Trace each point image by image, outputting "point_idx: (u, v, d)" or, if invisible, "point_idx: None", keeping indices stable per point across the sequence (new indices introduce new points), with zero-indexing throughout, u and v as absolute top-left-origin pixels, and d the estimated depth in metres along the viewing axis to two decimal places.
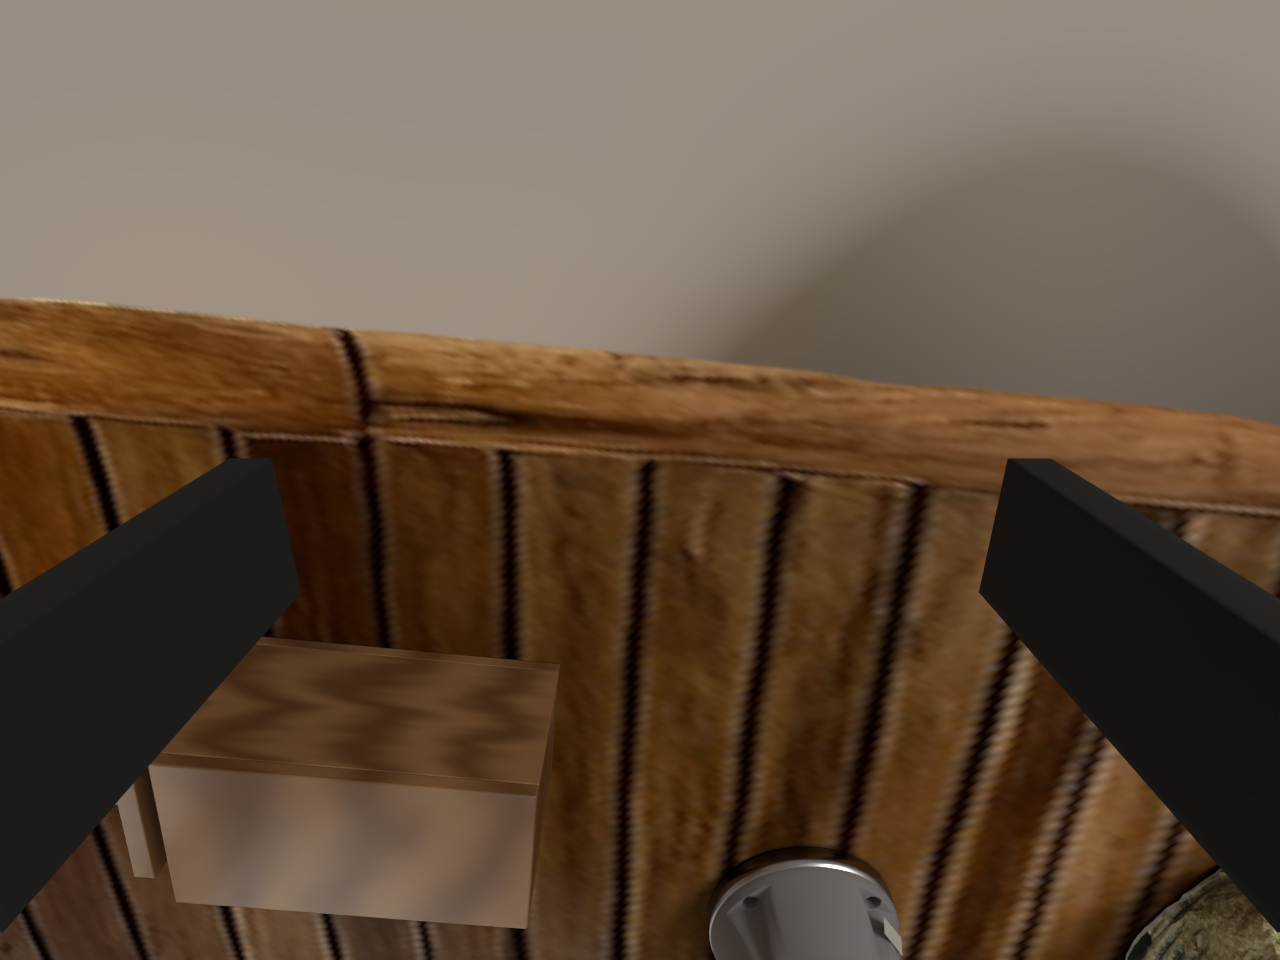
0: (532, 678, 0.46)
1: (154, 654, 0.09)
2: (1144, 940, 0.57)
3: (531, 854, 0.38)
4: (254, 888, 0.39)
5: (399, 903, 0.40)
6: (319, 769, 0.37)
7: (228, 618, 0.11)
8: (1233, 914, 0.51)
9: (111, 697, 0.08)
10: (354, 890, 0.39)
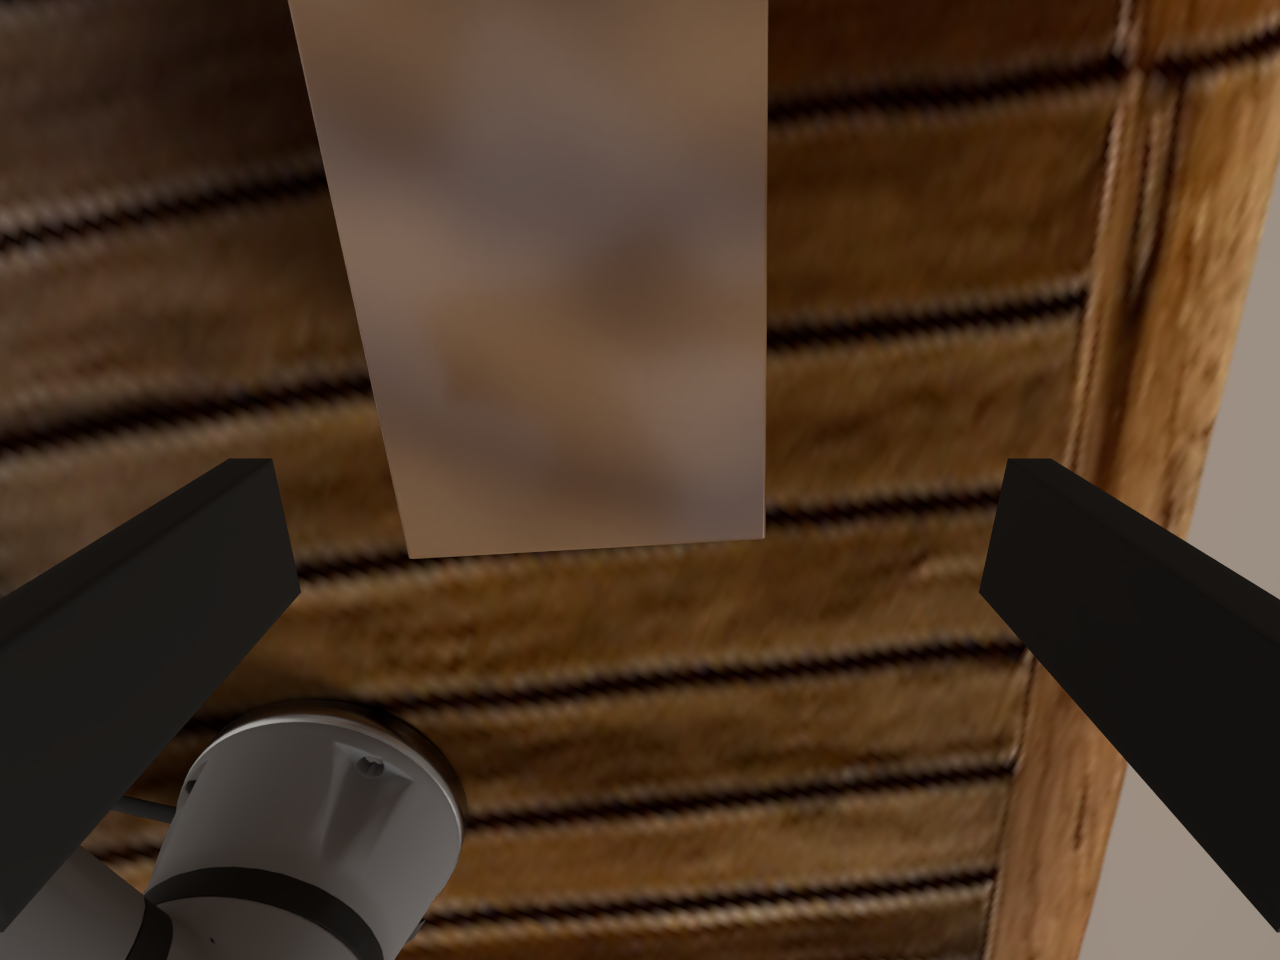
0: None
1: (154, 654, 0.09)
2: None
3: (617, 546, 0.20)
4: None
5: (407, 297, 0.17)
6: None
7: (228, 618, 0.11)
8: None
9: (111, 697, 0.08)
10: (418, 184, 0.16)
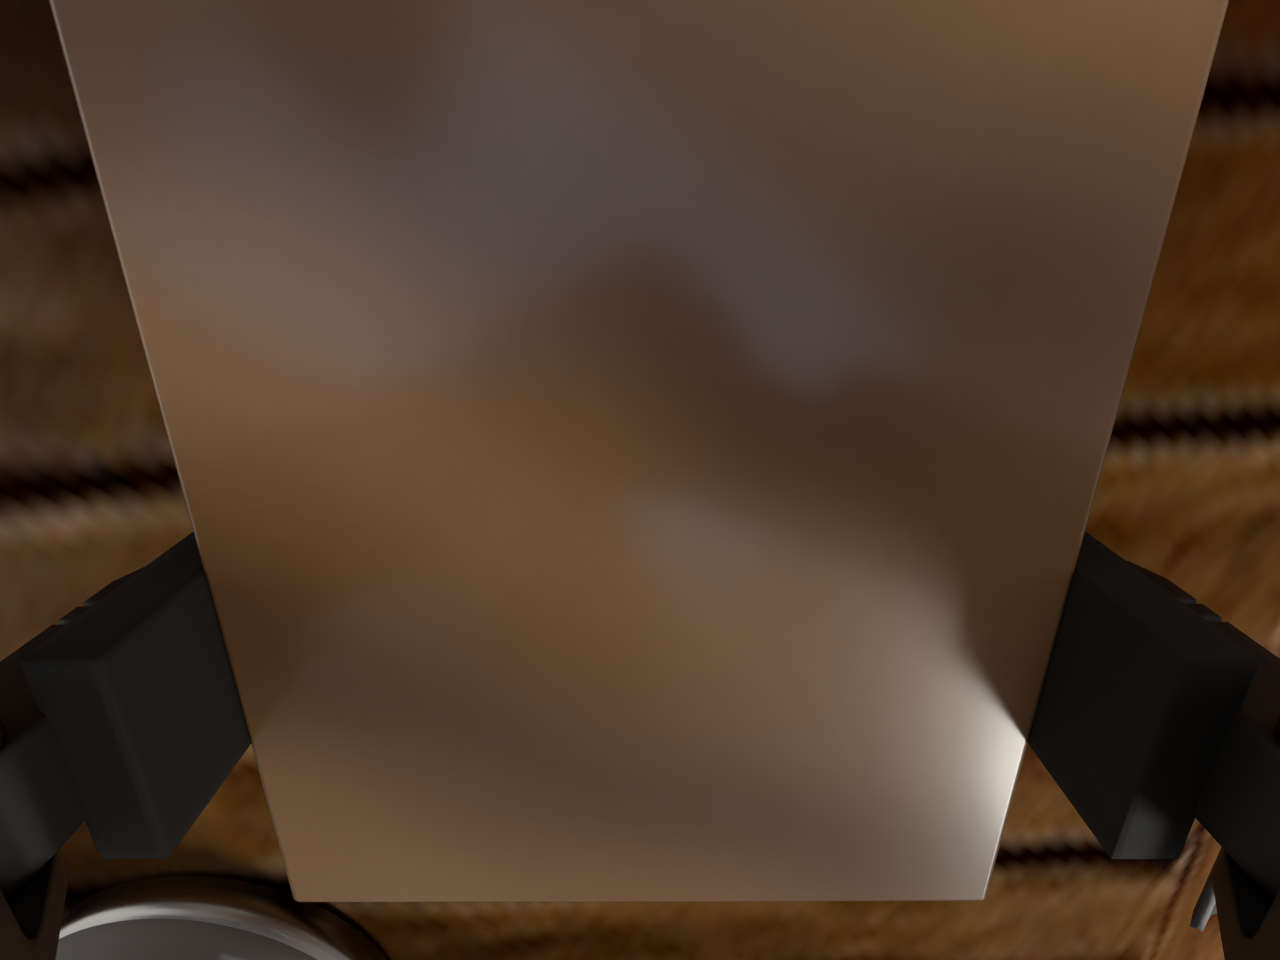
0: None
1: None
2: None
3: (701, 899, 0.10)
4: None
5: (293, 435, 0.08)
6: None
7: None
8: None
9: None
10: (321, 180, 0.07)
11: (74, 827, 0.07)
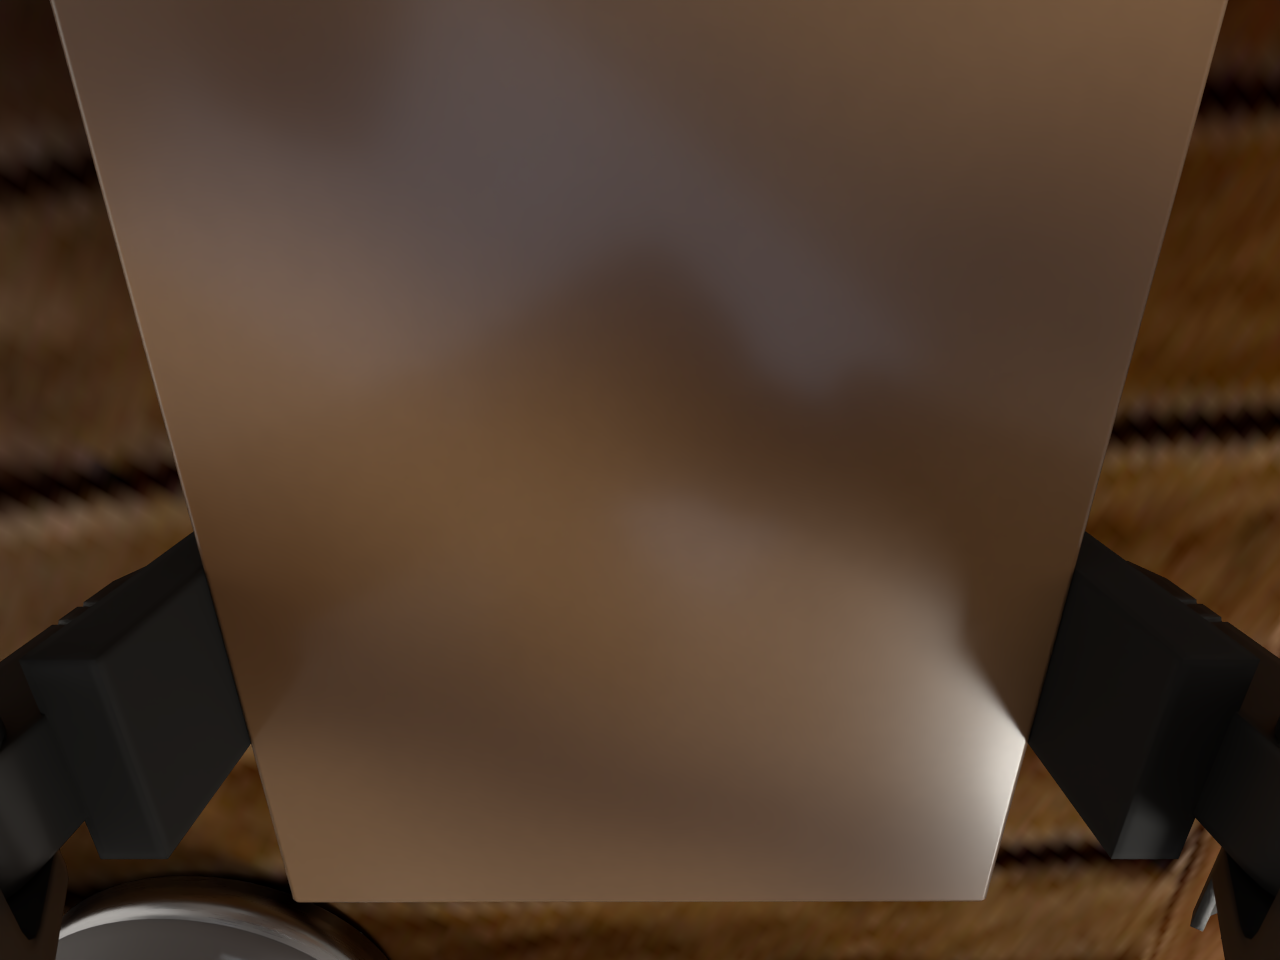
0: None
1: None
2: None
3: (701, 900, 0.10)
4: None
5: (293, 435, 0.08)
6: None
7: None
8: None
9: None
10: (322, 180, 0.07)
11: (74, 826, 0.07)
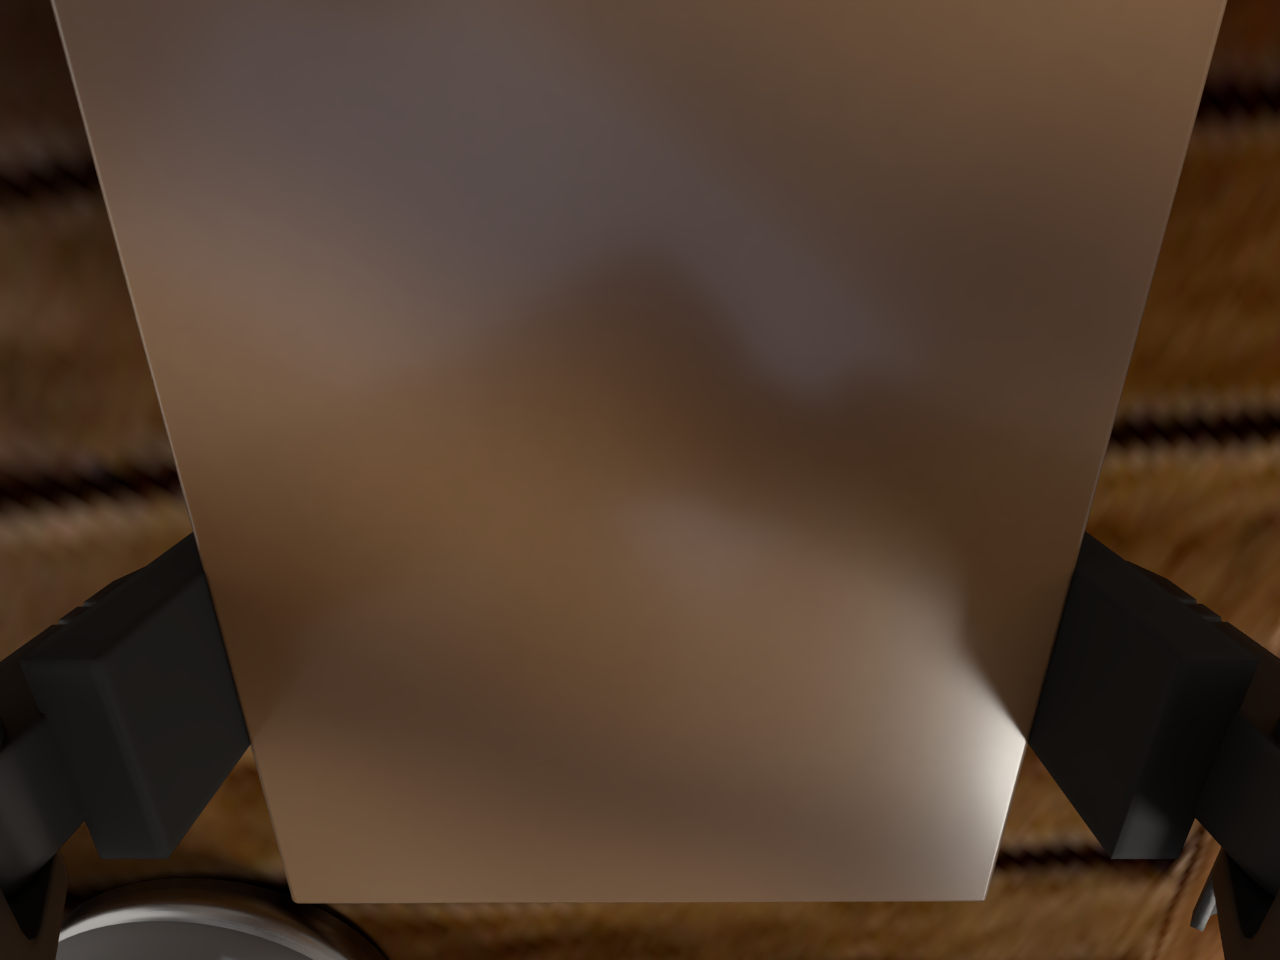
0: None
1: None
2: None
3: (701, 900, 0.10)
4: None
5: (292, 434, 0.08)
6: None
7: None
8: None
9: None
10: (322, 178, 0.07)
11: (75, 826, 0.07)
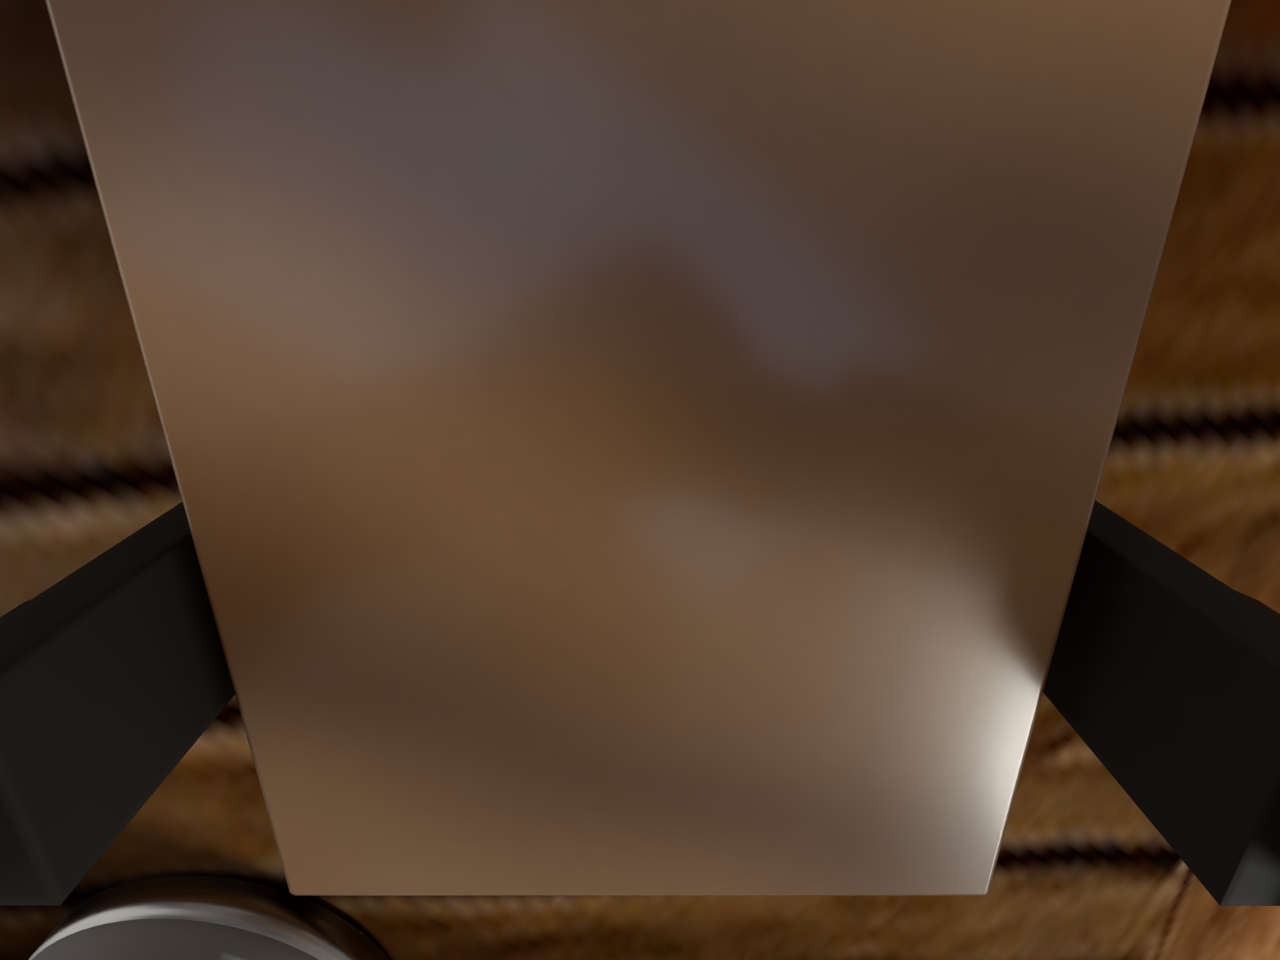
0: None
1: (192, 641, 0.09)
2: None
3: (700, 893, 0.10)
4: None
5: (287, 419, 0.07)
6: None
7: None
8: None
9: (155, 682, 0.09)
10: (315, 159, 0.07)
11: None
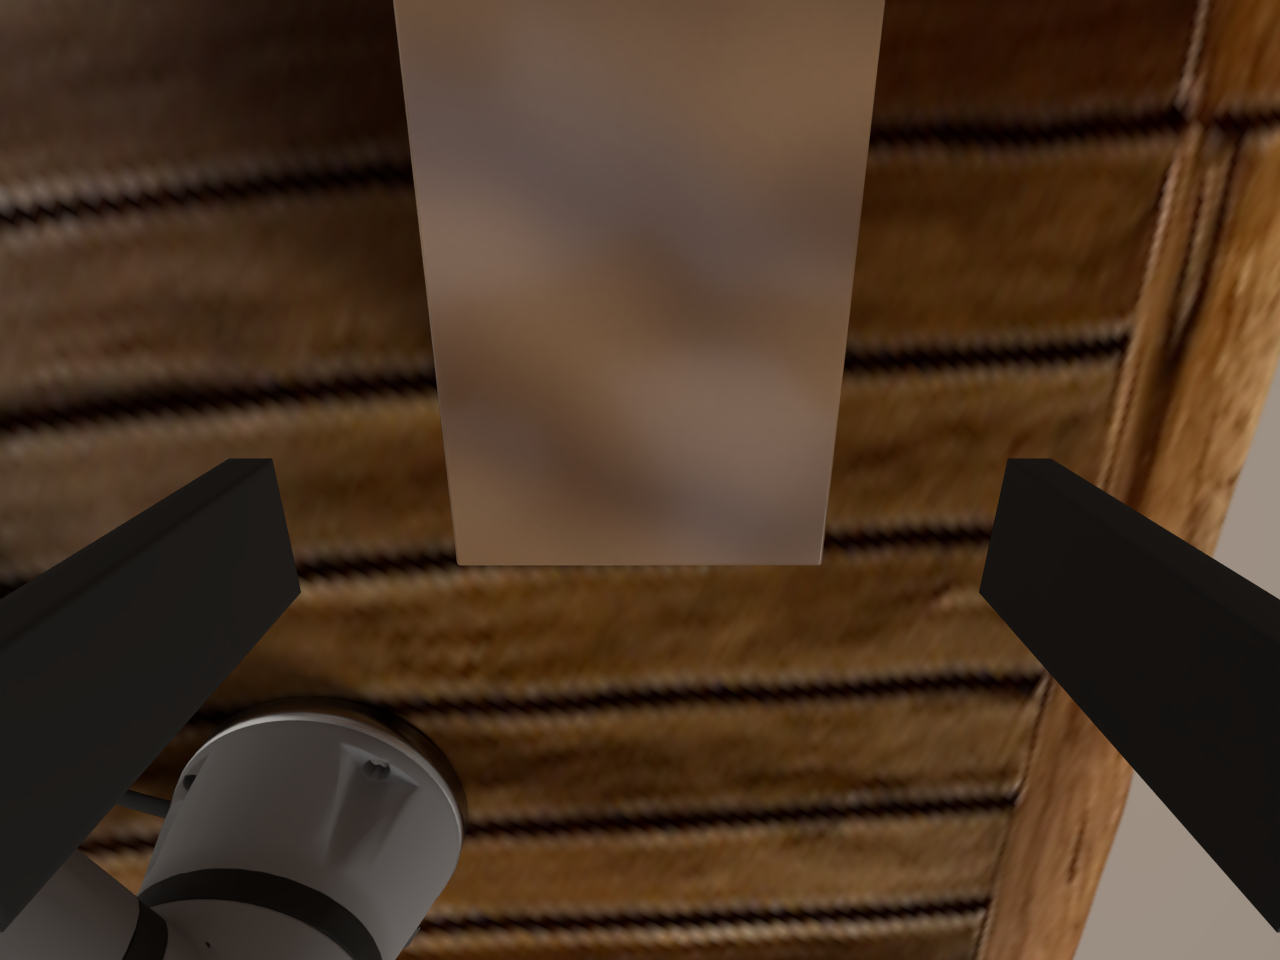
0: None
1: (153, 654, 0.09)
2: None
3: (671, 564, 0.20)
4: None
5: (484, 300, 0.17)
6: None
7: (228, 618, 0.11)
8: None
9: (111, 697, 0.08)
10: (507, 186, 0.16)
11: None
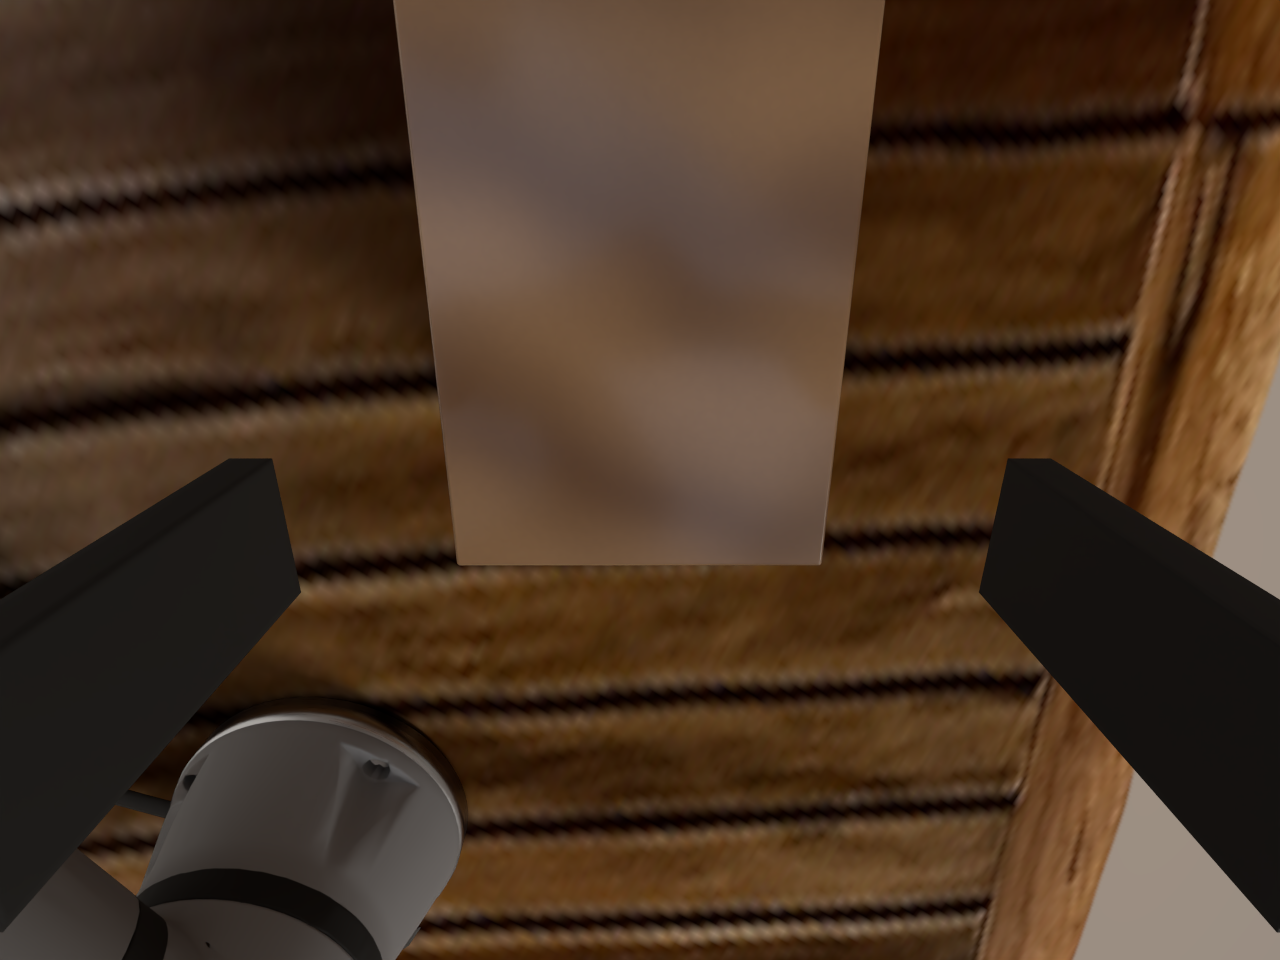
0: None
1: (153, 654, 0.09)
2: None
3: (671, 564, 0.20)
4: None
5: (484, 300, 0.17)
6: None
7: (228, 618, 0.11)
8: None
9: (111, 697, 0.08)
10: (507, 186, 0.16)
11: None
